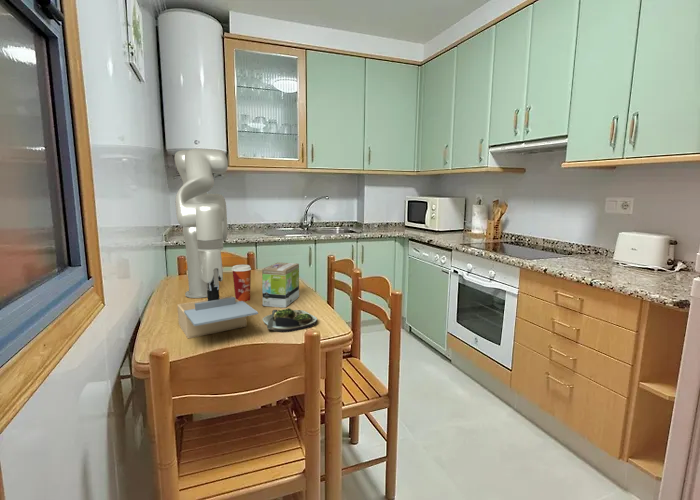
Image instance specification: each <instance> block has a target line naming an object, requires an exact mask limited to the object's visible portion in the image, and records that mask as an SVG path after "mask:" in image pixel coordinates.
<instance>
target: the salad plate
mask: <svg viewBox="0 0 700 500" xmlns="http://www.w3.org/2000/svg"><path fill="white" fill-rule="evenodd" d="M262 321H263V323H264V324H265V325H266V328H267V329H268V330H271V331H273V332H277V333H292V332H296V331H302V330H306V329H309V328H312V327H314V326H315V325H316V324H317V322H318V318H317V316H315V315H313V314H311V313H309V312H308V311H306V310H302V309H291V308H289V307H286V308H285V309H282V308H279V309H273V310H272V312H271V314H268V315H266V316H264V317H263V318H262ZM313 325H314V326H313Z"/></svg>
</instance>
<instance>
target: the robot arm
mask: <svg viewBox="0 0 700 500" xmlns="http://www.w3.org/2000/svg"><path fill="white" fill-rule="evenodd" d="M174 163H175V167H176V169H177V172H178V174H179V176H180V178H181V181H182V186H181V187H180V188H179V189H178V191H177V193H176V196H175V212H176V213H175V214H176V219H177V223H178V224H179V225H180V226H181V227H182V236H183V239H184V246H185V253H186V264H187V278H188V280H187V281H188V290H186V292H185V295H184V296H185V297H187V298H190V299H201V298H207V300H208V301H212V300H219V298H220V290H219V289H220V288H219V287H220V282H222V281H223V278H224V275H223V274H224V273H223V272H224V271H223V260H222V252H221V251H222V250H224V242H225V241H226V240H227V238H228V216H227V215H228V213H227V212H228V211H227V202H226V199H225V197H224V195H222V194H220V193H208V192H210V191H211V190H212V189H213V187H214V186H215V185H214V184H215V181H214V180H215V179H214V175H213V174H224V173H226V172H227V171H228V167H229V166H228V164H229V163H228V158H227V155H226V153H225V152H224V151H223V150H222V149H213V148H211V149H210V148H192V149H184V150H178V151H176V152H175V154H174Z"/></svg>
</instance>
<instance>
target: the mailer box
mask: <svg viewBox="0 0 700 500" xmlns="http://www.w3.org/2000/svg"><path fill="white" fill-rule="evenodd" d="M231 297H234V296H233V295H230V296H229V295H228V296H222V297H219V299H225V298H231ZM206 301H208V299H203V300H196V301H190V302H185V303H179V304H178V303H177V304H176V305H177V320H178V326H179V325H180V326H179V327H180V329H181V330H182V332H183V333H184V335H185V337H186V338H187V339H192V338H197V337H203V336H206V335H212V334H217V333H222V332H226V331H231V330H236V329H240V328H246V327H248V326H247V316H245V317H240V318H235V319H230V320H225V321H219V322H214V323H209V324H204V325H199V326H194V325H193V324H192V322H191V321H190V320H189V318H188V317H187V316H186V314H185V313H184V311H185V310H191V309H195V303H200V302H206ZM235 302H239V300H237V299H236V298H235Z"/></svg>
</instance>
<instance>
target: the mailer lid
mask: <svg viewBox="0 0 700 500" xmlns="http://www.w3.org/2000/svg"><path fill="white" fill-rule="evenodd" d="M184 313H185V314H186V316H187V317H188V318H189V320H190V321H191V322H192V324H193V325H194V326H199V325H204V324H209V323H214V322H219V321H225V320H230V319H235V318H240V317H245V316H246V317H251V316H255V315H259V312H258V311H257V310H256V309H254V308H253V307H252V306H251V305H249V304H248V303H246V302H243V301H239V302H235V296H233V297H231V298H225V299H219V300H212V301H206V302H200V303H195V309H191V310H185V311H184Z"/></svg>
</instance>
